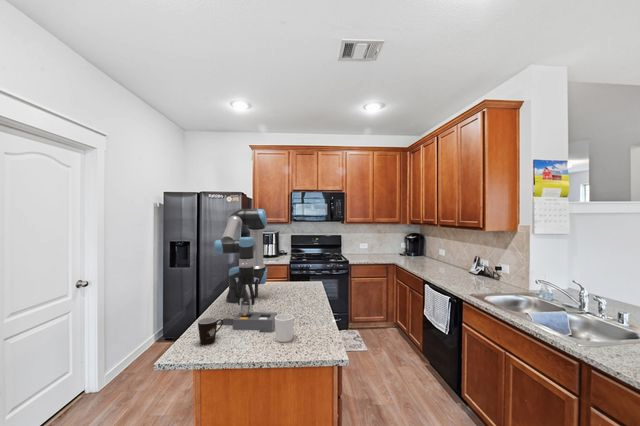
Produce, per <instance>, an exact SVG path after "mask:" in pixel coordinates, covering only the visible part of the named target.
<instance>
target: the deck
mask: <svg viewBox="0 0 640 426" xmlns="http://www.w3.org/2000/svg"><path fill="white" fill-rule="evenodd" d="M233 319H234V318H223V319H222V320H223V325H222V326H233ZM221 324H222V321H218V322H217V326H221Z"/></svg>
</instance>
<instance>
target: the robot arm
mask: <svg viewBox="0 0 640 426" xmlns="http://www.w3.org/2000/svg"><path fill="white" fill-rule="evenodd" d="M267 220H268V218H267V213H266V210H265V209H263V208H241V209H238V210H235V211H234V212H232V213H231V214H229V216H228V218H227V221H226V223H227V224H226V227H225V230H224V232H223V234H222V236H221V239H216V240H215V241H214V245H213V246H214V247H213V250H214V253H215V254H217V255H218V254H219V255H223V254H238V265H237V266H234V267H233V266H232V267H231V268H230V269H229V270H228V291H227V295H226V298H225V300H226V302H227V303H232V304H237V305H238V306H239V313H240V312H242V301H243V300H250V312H253V310H254V309H253V308H254V306H255V302H256V301H255V299H257V298H258V297H259V285H265V284H266V282H267V278H268V267H266V264H265V263H264V233H263V232H264V231H265V229H266V227H267V226H268V221H267ZM241 227H247V229H248V230H249V234H250V235H249V236H241V237H240V238H239V239H237V236H238V232H239V229H240V228H241ZM253 286H254V287H253ZM247 287H248V290H247ZM248 291H249V293H250V299H249V294H248Z"/></svg>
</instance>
